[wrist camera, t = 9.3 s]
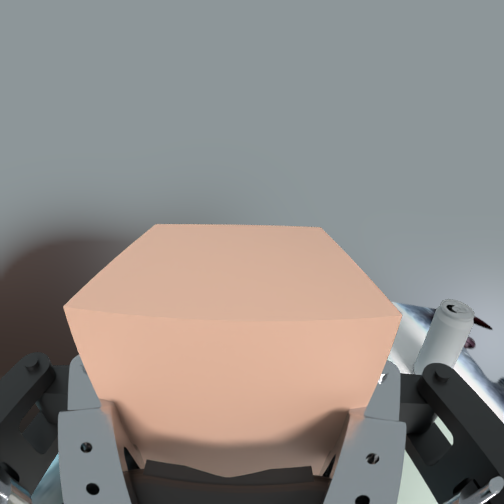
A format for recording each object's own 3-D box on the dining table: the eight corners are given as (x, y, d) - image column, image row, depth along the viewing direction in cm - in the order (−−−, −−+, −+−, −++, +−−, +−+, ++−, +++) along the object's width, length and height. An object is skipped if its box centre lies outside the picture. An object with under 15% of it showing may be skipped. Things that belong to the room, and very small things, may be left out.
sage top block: (435, 434, 19) (453, 411, 18) (463, 502, 10) (488, 484, 8) (354, 454, 19) (367, 433, 18) (371, 539, 10) (392, 529, 9)
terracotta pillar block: (292, 409, 13) (320, 227, 10) (308, 504, 8) (402, 315, 4) (182, 407, 13) (155, 224, 10) (164, 500, 7) (63, 306, 4)
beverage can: (412, 359, 37) (436, 294, 33) (444, 365, 34) (471, 301, 30) (411, 384, 31) (441, 315, 27) (447, 390, 29) (481, 323, 25)
